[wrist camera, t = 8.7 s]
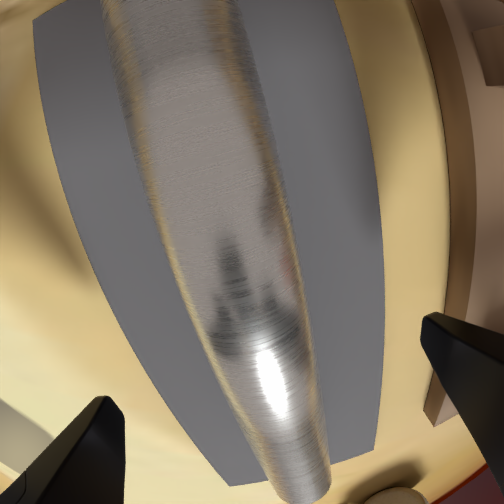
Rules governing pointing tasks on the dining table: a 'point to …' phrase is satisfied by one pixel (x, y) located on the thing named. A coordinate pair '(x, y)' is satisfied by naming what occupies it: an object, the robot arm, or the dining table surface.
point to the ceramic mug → (397, 497)
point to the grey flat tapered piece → (300, 200)
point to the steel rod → (225, 221)
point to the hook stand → (470, 160)
